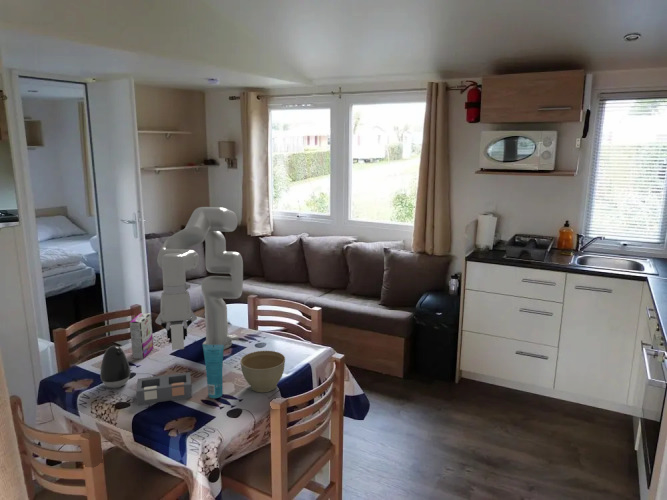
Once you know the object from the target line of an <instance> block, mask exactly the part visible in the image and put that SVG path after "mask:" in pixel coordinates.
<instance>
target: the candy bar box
mask: <svg viewBox="0 0 667 500" xmlns="http://www.w3.org/2000/svg"><path fill="white" fill-rule="evenodd" d="M128 323H129V332H130V340H131V341H130V343H131V351H132V352H131V353H132V359H133V360H143V359H145V358H146V357H147V356H148V355H149V354H150V353H151V352H152V351H153V350H154V347H155V346H154V339H153V325H152V315H151V313H150V312H148V313H147V312H141V313H138V315H136V316H135V317H133V319H131V320H130V321H129V322H128Z"/></svg>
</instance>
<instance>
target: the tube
mask: <svg viewBox="0 0 667 500" xmlns="http://www.w3.org/2000/svg"><path fill="white" fill-rule="evenodd" d="M202 350H203V356H204V365H205V366H204V367H205V373H206V374H205V375H206V384H207V394H208V398H210V399H218V398H221V397H222V396H223V391H224V390H223V389H224V388H223V383H224V382H223V366H224V365H223V364H224V363H223V362H224V350H225V349H224V345H209V344H203V343H202Z"/></svg>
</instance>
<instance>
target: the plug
mask: <svg viewBox="0 0 667 500" xmlns="http://www.w3.org/2000/svg"><path fill="white" fill-rule="evenodd" d="M170 328H171V339H172V341H171V350H172V351H175V350H176V351H177V350H184V349H185V340H184V338H183V321H175V322H171V323H170Z"/></svg>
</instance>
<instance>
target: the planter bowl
mask: <svg viewBox="0 0 667 500" xmlns="http://www.w3.org/2000/svg"><path fill="white" fill-rule="evenodd" d="M285 364H286V356H285V355H284V354H282V353H281V352H278V351H275V350H257V351H252V352H249V353H247V354H245V355H244V356H242V357H241V358H240V366H241V373H242V375H243V378H244V379H245V381H246V383H247V384H248V385H249V386H250V389H251V390H252V391H254V392H256V393H267V392H271V391H273V390H275V389H276V388H277V386H278V383H279V382H280V380H281V379H282V377H283V374H284V372H285V371H284V370H285Z"/></svg>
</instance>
